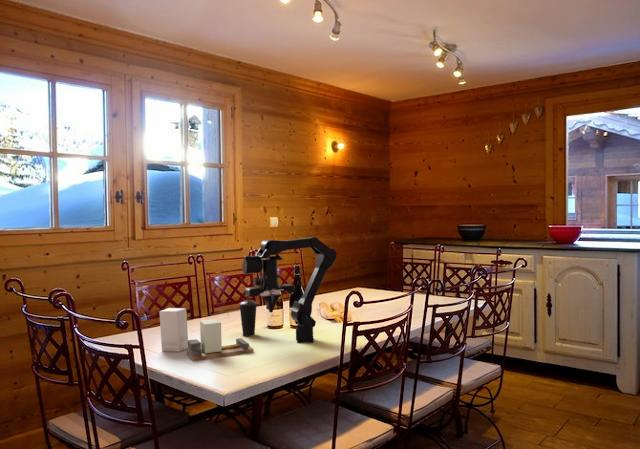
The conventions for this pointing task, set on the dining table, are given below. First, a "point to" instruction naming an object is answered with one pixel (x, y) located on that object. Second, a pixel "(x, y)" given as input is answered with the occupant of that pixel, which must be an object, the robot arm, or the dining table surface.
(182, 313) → the skincare box
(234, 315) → the dining table surface
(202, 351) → the brown board with bar
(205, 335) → the tall pale green box
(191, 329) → the dining table surface
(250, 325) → the drinking cup
